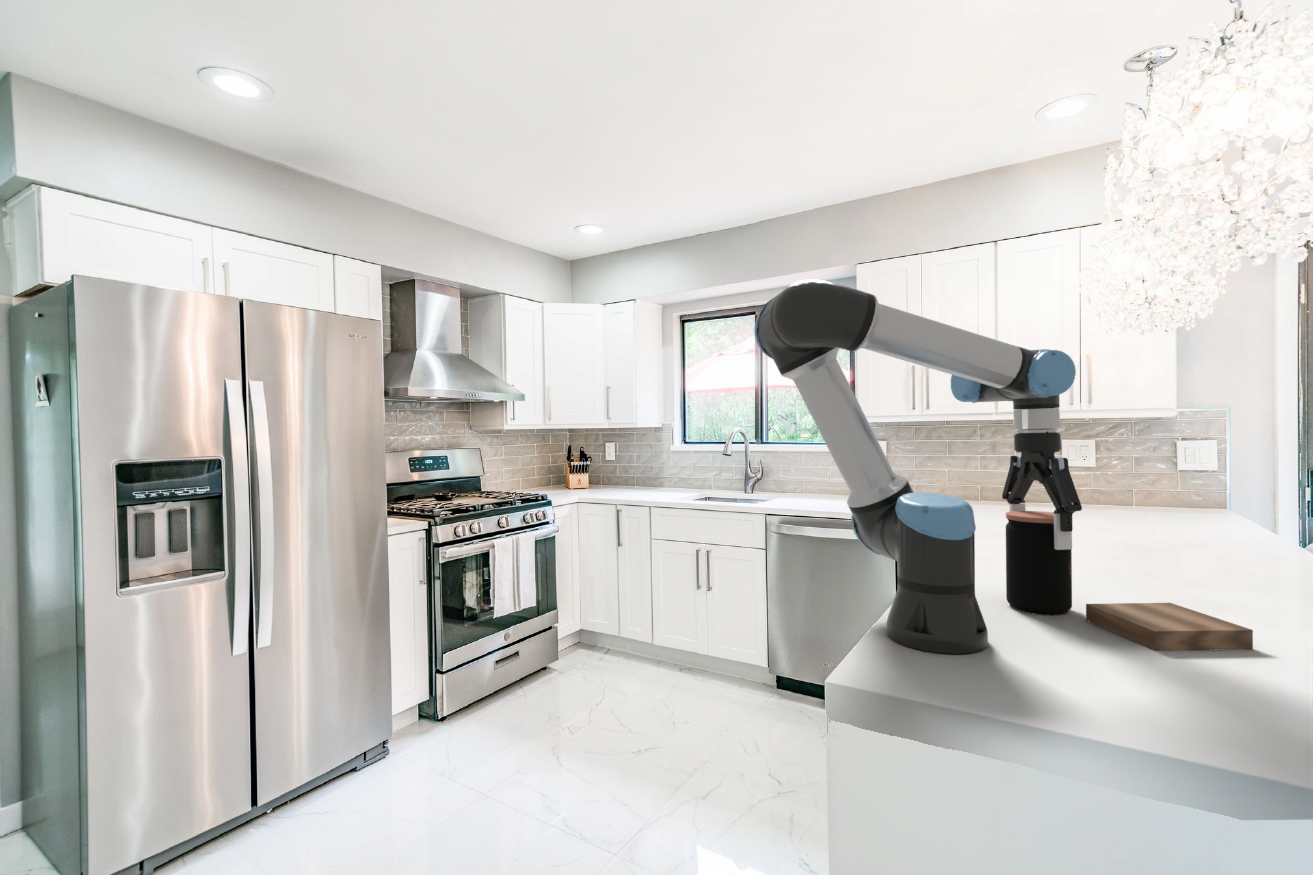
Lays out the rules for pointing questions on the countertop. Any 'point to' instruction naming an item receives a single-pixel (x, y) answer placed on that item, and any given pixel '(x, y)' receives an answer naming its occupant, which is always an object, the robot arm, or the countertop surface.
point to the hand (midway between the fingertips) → (1039, 542)
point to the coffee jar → (1036, 565)
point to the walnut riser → (1169, 626)
